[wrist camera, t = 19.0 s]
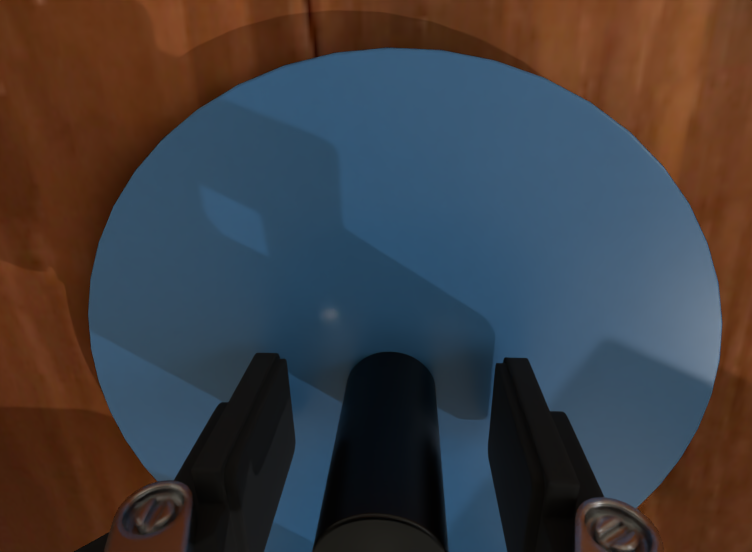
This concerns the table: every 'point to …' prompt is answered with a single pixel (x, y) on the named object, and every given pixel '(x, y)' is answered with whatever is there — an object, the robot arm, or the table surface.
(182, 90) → the table surface
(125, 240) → the lid
